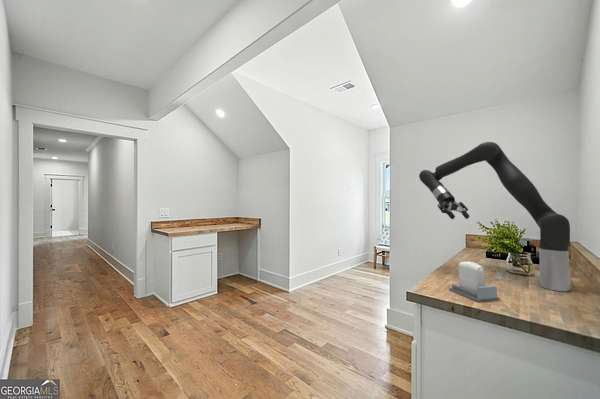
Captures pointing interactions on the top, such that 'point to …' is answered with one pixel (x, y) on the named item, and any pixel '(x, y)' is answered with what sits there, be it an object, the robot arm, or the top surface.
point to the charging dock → (482, 293)
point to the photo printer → (471, 276)
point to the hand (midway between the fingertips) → (461, 218)
